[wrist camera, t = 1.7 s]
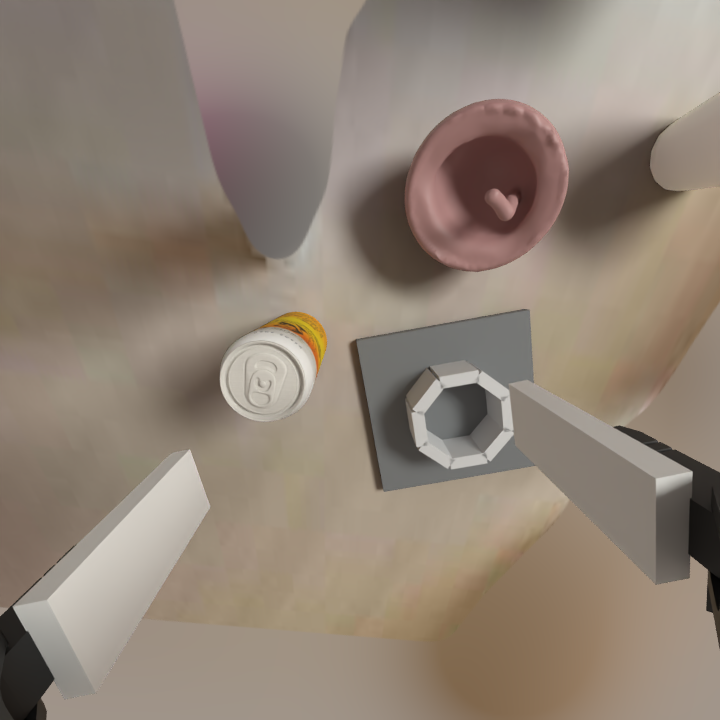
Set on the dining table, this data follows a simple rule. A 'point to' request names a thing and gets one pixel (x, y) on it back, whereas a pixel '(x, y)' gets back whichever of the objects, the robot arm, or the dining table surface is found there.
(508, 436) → the socket
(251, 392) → the beer can
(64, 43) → the dining table surface
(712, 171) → the foam cup
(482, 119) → the mortar and pestle
